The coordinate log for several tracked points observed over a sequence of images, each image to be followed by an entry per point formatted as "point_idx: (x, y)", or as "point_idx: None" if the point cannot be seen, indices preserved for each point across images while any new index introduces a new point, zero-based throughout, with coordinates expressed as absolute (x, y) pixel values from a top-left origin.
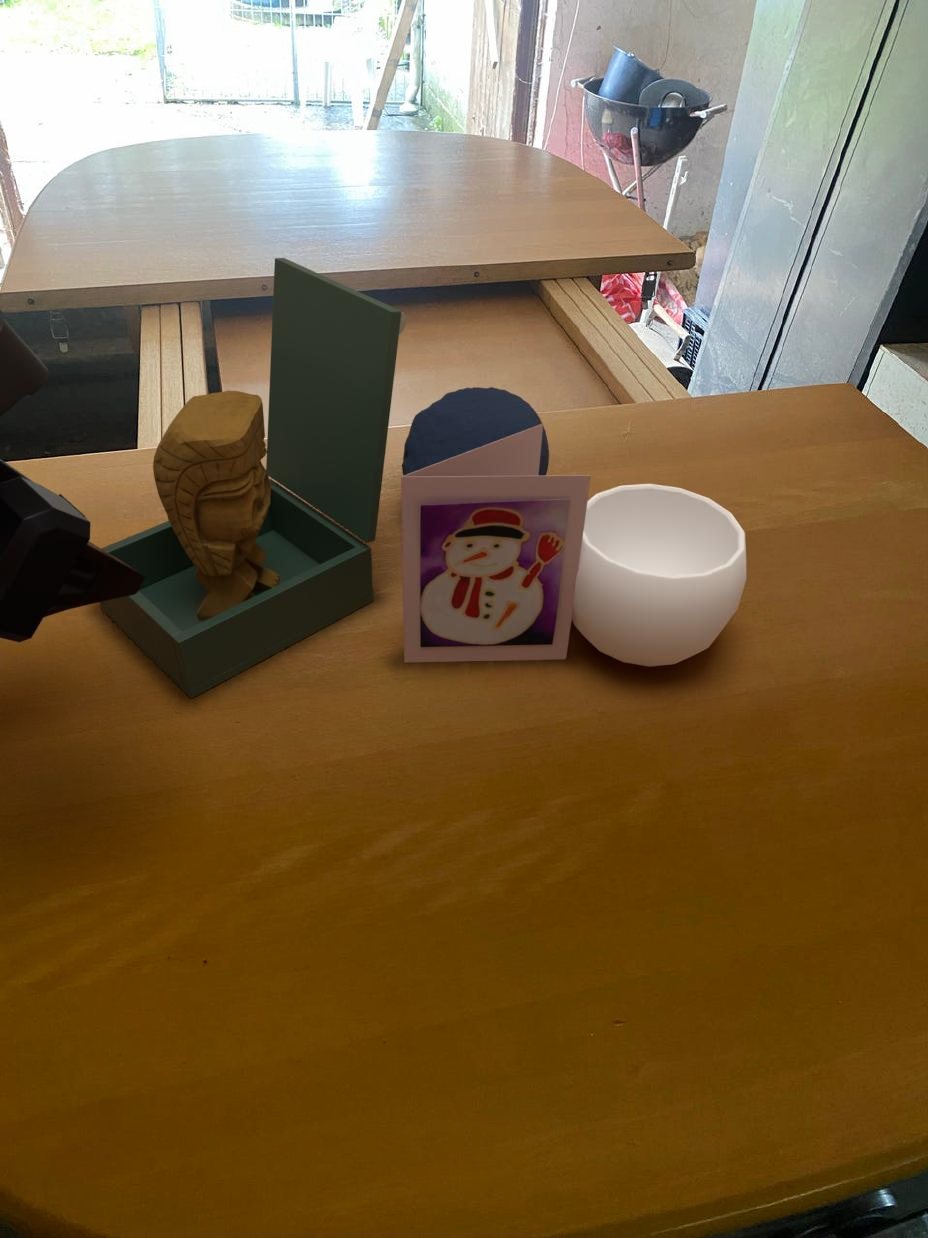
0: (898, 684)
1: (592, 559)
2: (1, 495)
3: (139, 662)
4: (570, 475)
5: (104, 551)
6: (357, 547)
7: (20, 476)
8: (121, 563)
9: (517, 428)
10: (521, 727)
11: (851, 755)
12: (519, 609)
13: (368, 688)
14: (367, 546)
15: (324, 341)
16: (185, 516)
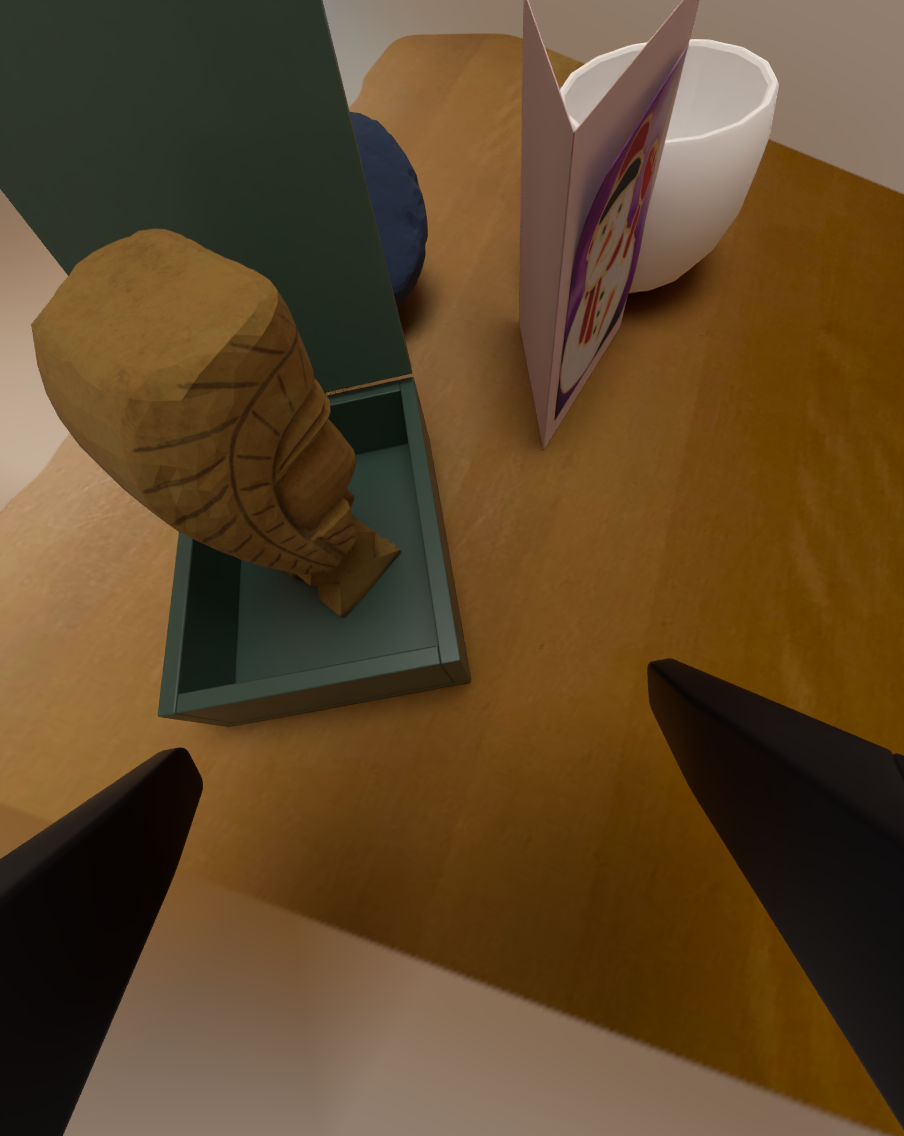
0: (774, 152)
1: (675, 157)
2: None
3: (363, 717)
4: None
5: (823, 759)
6: (403, 388)
7: (11, 898)
8: (793, 711)
9: (371, 135)
10: (695, 397)
11: (842, 209)
12: (615, 294)
13: (562, 497)
14: (408, 379)
15: (113, 43)
16: (276, 527)
